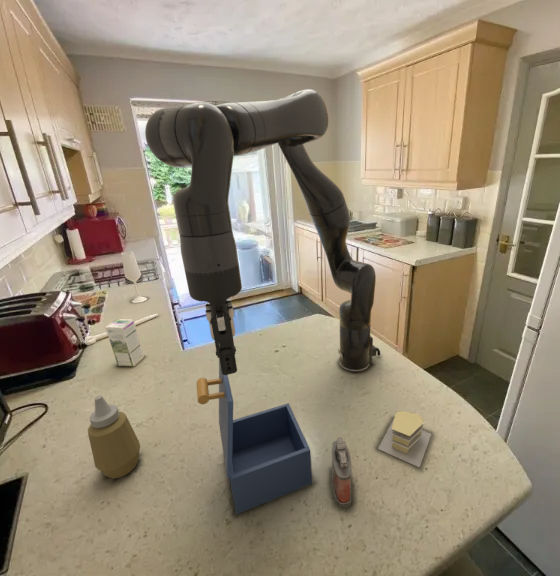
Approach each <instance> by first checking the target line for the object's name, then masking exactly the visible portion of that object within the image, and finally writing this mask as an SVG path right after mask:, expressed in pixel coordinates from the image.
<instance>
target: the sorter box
mask: <svg viewBox="0 0 560 576" xmlns="http://www.w3.org/2000/svg"><path fill="white" fill-rule="evenodd" d="M303 433H304V432H303V431H302V429H301V426H300V425H299V422H298V420H297V417H296V416H295V413H294V412H293V409H292V407H291V405H290V403H284V404H282V405H278V406H274V407H271V408H269V409H268V408H267V409H265V410H262V411H258V412H255V413H252V414H249V415H245V416H242V417H238V418H235V419H233V445H232V477H230V478H229V482H230V488H231V493H232V498H233V504H234V509H235V514H236V515H239V514H241V513H244V512H246V511H249V510H251V509H254V508H256V507H257V506H258V507H259V506H260V505H262V504H263V505H264V504H265V503H268V502H270V501H273V500H275V499H279V498H280V497H283V496H285V495H287V494H289V493H292V492H295V491H297V490H300V489H302V488H305V487H306V486H309V485H312V484H313V475H312V472H313V471H312V456H311V454H312V453H311V448H310V445H309V444H308V441H307V440H306V438H305V435H304V434H303Z"/></svg>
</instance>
